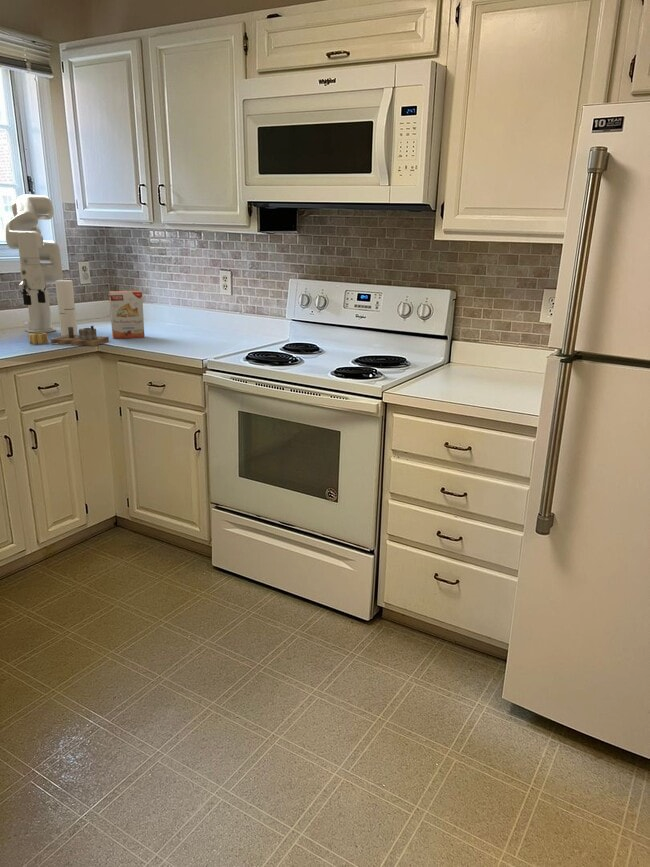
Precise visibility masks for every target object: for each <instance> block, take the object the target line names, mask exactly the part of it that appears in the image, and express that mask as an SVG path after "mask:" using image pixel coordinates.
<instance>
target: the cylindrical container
mask: <svg viewBox="0 0 650 867" xmlns="http://www.w3.org/2000/svg"><path fill="white" fill-rule="evenodd" d="M55 283H56V284H55V292H56V301H57V310H58V319H59V327H60V337H61V336H65V335H69V332H68V327H73V332H74V335H79V332H78V324H77V317H76V316H77V314H76V305H75V295H74V294H75V293H74V284H73V280H70V279H68V280H67V279H62V280H57V281H55Z"/></svg>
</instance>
